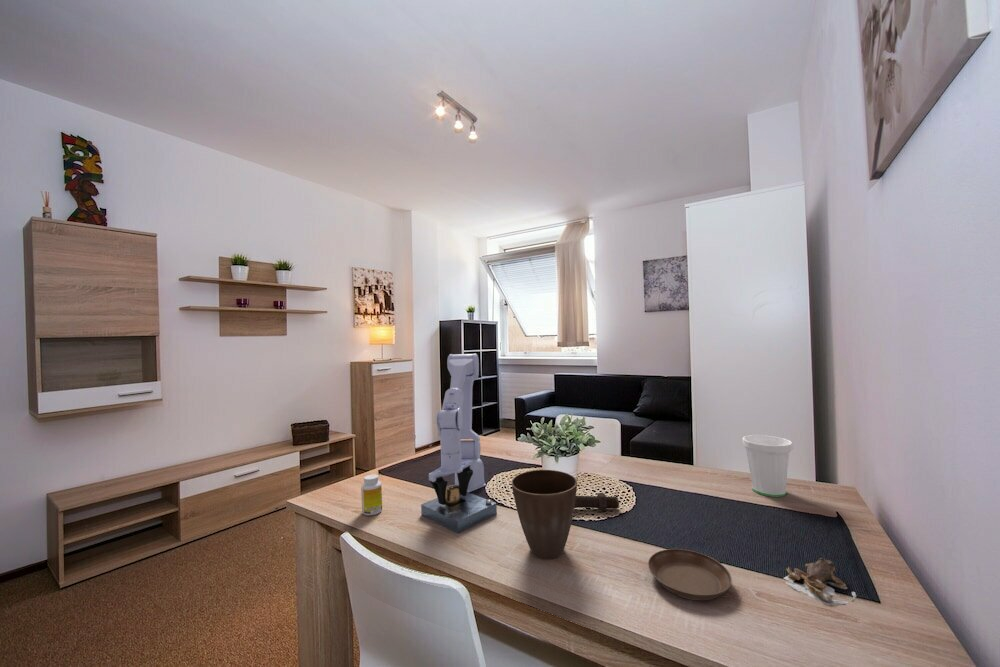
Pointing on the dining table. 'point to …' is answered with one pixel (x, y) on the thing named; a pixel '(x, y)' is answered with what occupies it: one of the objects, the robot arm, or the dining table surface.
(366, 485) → the supplement bottle
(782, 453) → the cup
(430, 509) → the jig
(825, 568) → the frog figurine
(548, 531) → the plant pot
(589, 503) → the bolt
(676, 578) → the saucer
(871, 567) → the dining table surface
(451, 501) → the bushing
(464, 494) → the robot arm
